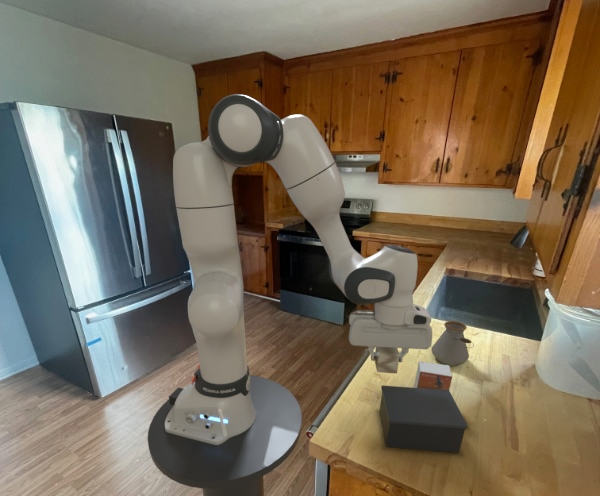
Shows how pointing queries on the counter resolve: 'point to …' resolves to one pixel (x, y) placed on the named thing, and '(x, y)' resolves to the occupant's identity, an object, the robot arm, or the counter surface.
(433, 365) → the small box
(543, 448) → the counter surface
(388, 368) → the beige cube block
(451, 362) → the coffee pot
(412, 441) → the storage box
